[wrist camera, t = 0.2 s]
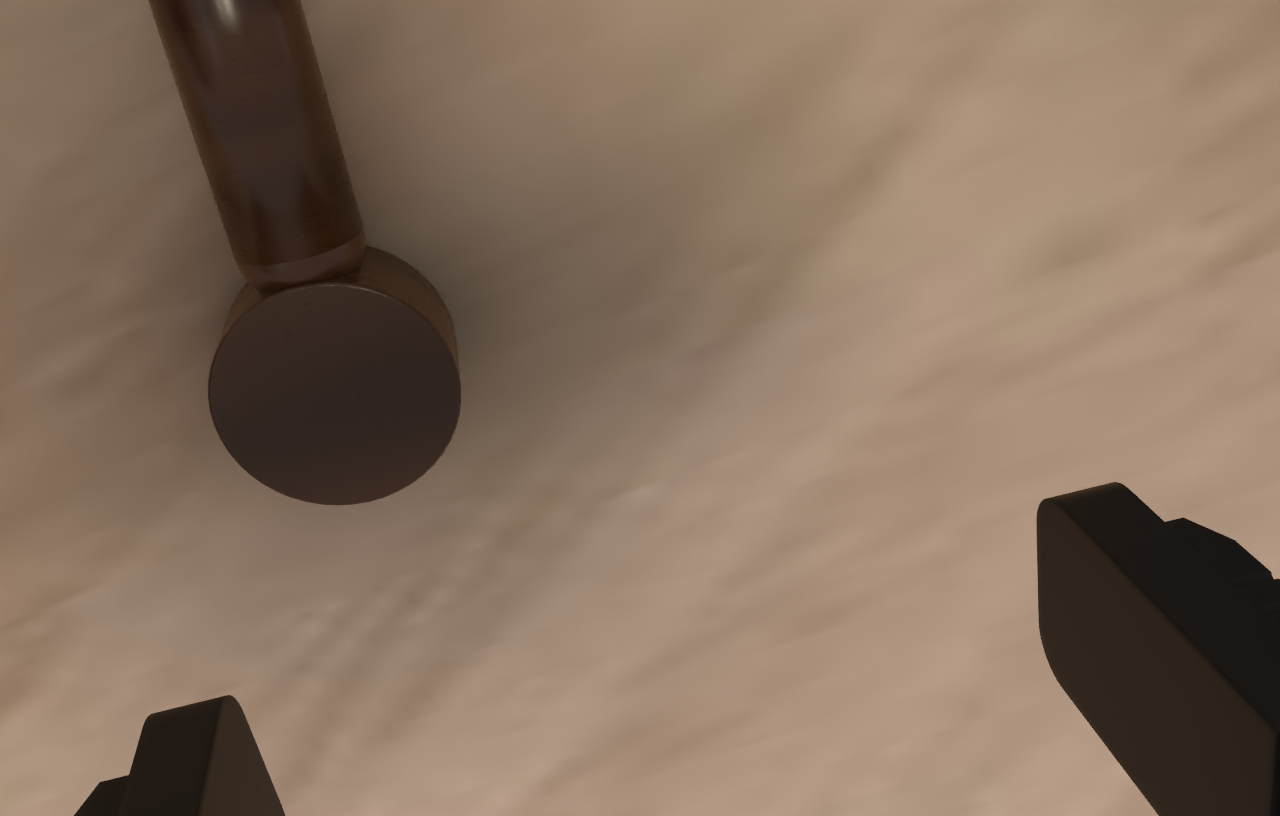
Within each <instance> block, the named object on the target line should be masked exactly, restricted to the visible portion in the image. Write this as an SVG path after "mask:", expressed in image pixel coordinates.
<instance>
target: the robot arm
mask: <svg viewBox="0 0 1280 816" xmlns="http://www.w3.org/2000/svg"><path fill="white" fill-rule="evenodd" d="M1037 563H1038V610H1039V629H1040V635H1041V640H1042V644H1043V648H1044V651H1045V654H1046V657H1047V660H1048V662H1049V665H1050V667H1051V669H1052V671H1053V673H1054V675H1055V677H1056V679H1057V681H1058V682H1059V684H1060V685H1061V687H1062V688H1063V689H1064V691H1065V692H1066V693H1067V695H1068V696H1069V697H1070V699H1071V700H1072V701H1073V703H1074V704H1075V705H1076V707H1077V708H1078V709H1079V711H1080V712H1081V713H1082V715H1083V716H1084V717H1085V718H1086V720H1087V721H1088V722H1089V724H1090V725H1091V726H1092V728H1093V729H1094V730H1095V732H1096V733H1097V734H1098V736H1099V737H1100V738H1101V740H1102V741H1103V742H1104V744H1105V745H1106V746H1107V748H1108V749H1109V750H1110V752H1111V753H1112V754H1113V756H1114V757H1115V758H1116V759H1117V761H1118V762H1119V763H1120V765H1121V766H1122V767H1123V769H1124V770H1125V771H1126V773H1127V774H1128V775H1129V777H1130V778H1131V779H1132V781H1133V782H1134V783H1135V785H1136V786H1137V787H1138V789H1139V790H1140V791H1141V793H1142V794H1143V795H1144V796H1145V798H1146V799H1147V800H1148V802H1149V803H1150V804H1151V806H1152V807H1153V808H1154V810H1155V811H1156V812H1157V814H1158V815H1159V816H1280V579H1275V580H1274V579H1273V577H1272V574H1271V572H1270V571H1269V570H1268V569H1267V568H1266V567H1265V566H1264V565H1262V564H1261V563H1260V562H1259V561H1258V560H1257V559H1256V558H1254V557H1253V556H1252V555H1251V554H1250V553H1249V552H1248V551H1246V550H1245V549H1244V548H1243V547H1242V546H1241V545H1239V544H1238V543H1237V542H1236V541H1235V540H1233V539H1231V538H1228V537H1226V536H1224V535H1221V534H1219V533H1217V532H1215V531H1212V530H1210V529H1208V528H1206V527H1203V526H1201V525H1199V524H1197V523H1194V522H1192V521H1190V520H1188V519H1185V518H1180V519H1176V520H1172V521H1167V522H1164V521H1163V520H1162V519H1161V518H1160V517H1159V516H1158V515H1156V514H1155V513H1154V512H1153V511H1152V510H1151V509H1150V508H1149V507H1148V506H1147V505H1146V504H1145V503H1144V502H1142V501H1141V500H1140V499H1139V498H1138V497H1137V496H1136V495H1135V494H1134V493H1133V492H1132V491H1131V490H1129V489H1128V488H1127V487H1126V486H1125V485H1123V484H1121V483H1118V482H1113V483H1109V484H1105V485H1100V486H1096V487H1092V488H1088V489H1084V490H1080V491H1076V492H1072V493H1068V494H1063V495H1059V496H1055V497H1051V498H1047V499H1044V500H1043V501H1041V503H1040V505H1039V508H1038V511H1037ZM74 816H285V813H284V811H283V808H282V805H281V803H280V800H279V798H278V796H277V793H276V791H275V788H274V786H273V783H272V781H271V778H270V776H269V773H268V771H267V769H266V766H265V764H264V761H263V759H262V756H261V754H260V751H259V749H258V747H257V744H256V742H255V739H254V737H253V734H252V732H251V729H250V727H249V725H248V722H247V720H246V717H245V715H244V713H243V710H242V708H241V706H240V705H239V703H238V701H237V700H236V699H235V698H234V697H233V696H231V695H227V696H223V697H219V698H215V699H211V700H206V701H202V702H198V703H194V704H190V705H186V706H182V707H178V708H174V709H169V710H165V711H161V712H157V713H153V714H150V715H149V716H148V717H147V719H146V720H145V723H144V725H143V729H142V732H141V736H140V739H139V742H138V746H137V749H136V753H135V756H134V760H133V763H132V767H131V770H130V774H129V775H128V776H123V777H119V778H115V779H111V780H107V781H103V782H100V783H99V784H98V785H97V787H96V788H95V789H94V791H93V792H92V793H91V794H90V796H89V797H88V798H87V800H86V801H85V802H84V803H83V805H82V806H81V807H80V808H79V810H78V811H77V812H76V814H75V815H74Z"/></svg>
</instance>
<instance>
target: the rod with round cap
mask: <svg viewBox="0 0 1280 816" xmlns="http://www.w3.org/2000/svg"><path fill="white" fill-rule="evenodd" d="M148 1H149V4H150V7H151V10H152V13H153V16H154V19H155V22H156V25H157V28H158V31H159V34H160V37H161V40H162V43H163V46H164V49H165V52H166V55H167V58H168V61H169V64H170V67H171V70H172V73H173V76H174V79H175V82H176V85H177V88H178V91H179V94H180V97H181V100H182V103H183V106H184V109H185V112H186V115H187V118H188V121H189V124H190V127H191V130H192V133H193V136H194V139H195V142H196V145H197V148H198V151H199V154H200V157H201V160H202V163H203V166H204V169H205V172H206V175H207V178H208V181H209V184H210V187H211V190H212V193H213V196H214V199H215V202H216V205H217V208H218V211H219V214H220V217H221V220H222V223H223V226H224V229H225V232H226V235H227V238H228V241H229V244H230V247H231V250H232V253H233V256H234V259H235V261H236V263H237V265H238V267H239V270H240V271H241V273H242V274H243V275H244V277H245V278H246V279H247V281H248V282H247V283H246V284H245V286H244V287H243V288H242V290H241V291H240V293H239V294H238V296H237V298H236V300H235V302H234V303H233V305H232V307H231V310H230V313H229V316H228V318H227V321H226V324H225V327H224V330H223V332H222V335H221V338H220V341H219V344H218V347H217V349H216V352H215V355H214V358H213V361H212V364H211V368H210V374H209V380H208V399H209V407H210V412H211V416H212V419H213V423H214V426H215V428H216V430H217V433H218V435H219V437H220V439H221V441H222V442H223V444H224V446H225V447H226V449H227V450H228V452H229V453H230V454H231V455H232V457H233V458H234V459H235V460H236V461H237V463H238V464H239V465H240V466H241V467H242V468H243V469H245V470H246V471H247V472H248V473H249V474H250V475H251V476H253V477H254V478H255V479H257V480H258V481H260V482H261V483H262V484H264V485H266V486H268V487H269V488H271V489H273V490H275V491H277V492H279V493H281V494H284V495H286V496H289V497H291V498H295V499H298V500H302V501H305V502H311V503H317V504H324V505H351V504H358V503H364V502H370V501H373V500H377V499H380V498H383V497H386V496H388V495H391V494H393V493H395V492H398V491H400V490H401V489H403V488H405V487H407V486H408V485H410V484H412V483H413V482H414V481H416V480H417V479H418V478H420V477H421V476H422V475H424V474H425V473H426V472H427V471H428V470H429V469H430V468H431V467H432V466H433V465H434V464H435V463H436V461H437V460H438V459H439V458H440V456H441V455H442V454H443V452H444V451H445V449H446V447H447V446H448V444H449V442H450V441H451V438H452V436H453V433H454V431H455V429H456V425H457V422H458V418H459V414H460V405H461V384H460V374H459V364H458V354H457V343H456V337H455V331H454V326H453V323H452V320H451V317H450V314H449V312H448V310H447V308H446V306H445V304H444V302H443V300H442V299H441V297H440V296H439V294H438V293H437V291H436V290H435V289H434V287H433V286H432V285H431V284H430V283H429V282H428V281H427V280H426V278H424V277H423V276H422V275H421V274H420V273H419V272H418V271H416V270H415V269H414V268H413V267H411V266H410V265H408V264H407V263H405V262H404V261H402V260H400V259H398V258H396V257H394V256H392V255H390V254H388V253H386V252H383V251H380V250H378V249H375V248H371V247H367V246H365V235H364V229H363V224H362V220H361V216H360V213H359V209H358V206H357V202H356V199H355V195H354V191H353V188H352V184H351V181H350V177H349V174H348V170H347V166H346V163H345V159H344V156H343V152H342V149H341V145H340V141H339V138H338V134H337V131H336V127H335V123H334V120H333V116H332V113H331V109H330V106H329V102H328V98H327V95H326V91H325V88H324V84H323V81H322V77H321V73H320V70H319V66H318V63H317V59H316V56H315V52H314V48H313V45H312V41H311V38H310V34H309V31H308V27H307V23H306V20H305V16H304V13H303V9H302V5H301V2H300V0H148Z"/></svg>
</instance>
